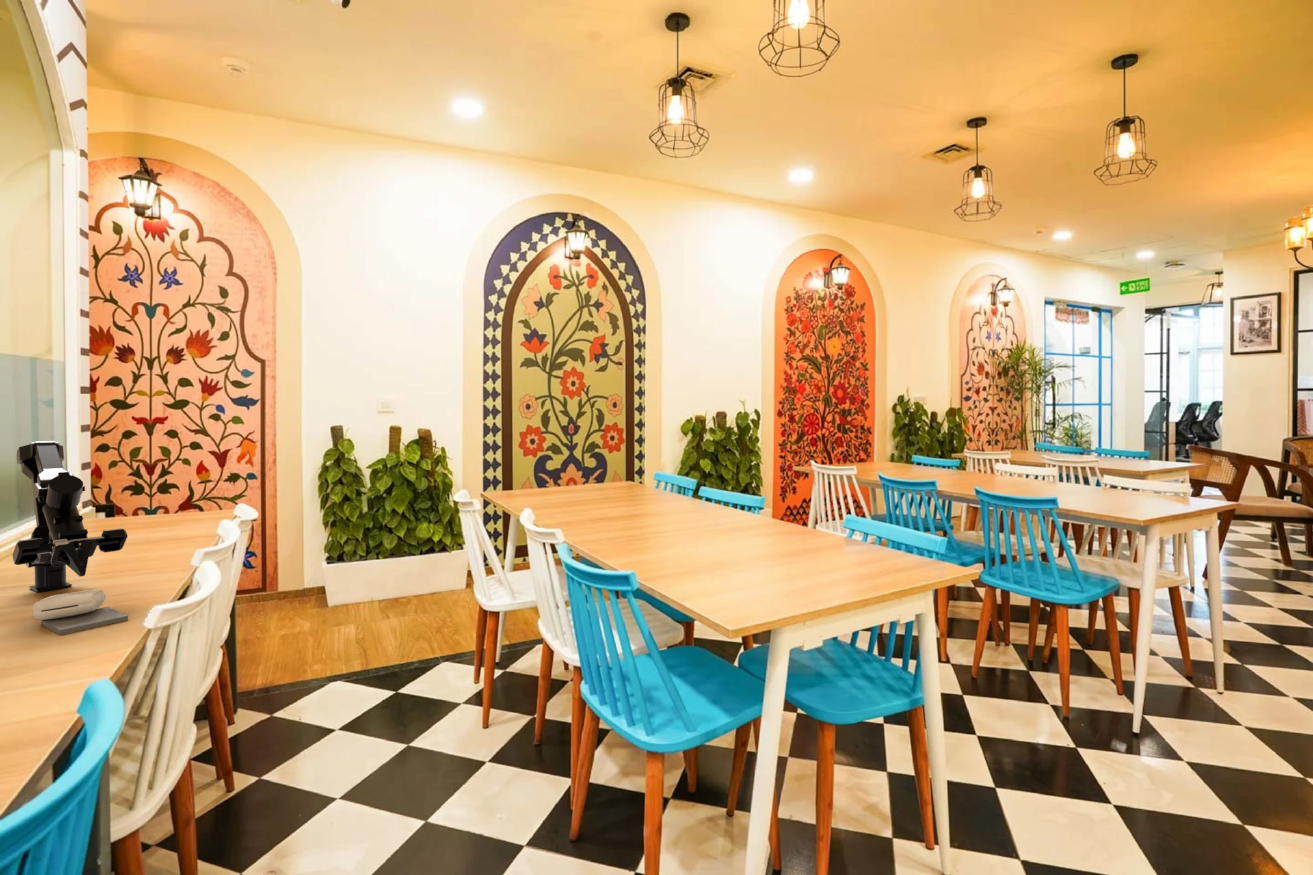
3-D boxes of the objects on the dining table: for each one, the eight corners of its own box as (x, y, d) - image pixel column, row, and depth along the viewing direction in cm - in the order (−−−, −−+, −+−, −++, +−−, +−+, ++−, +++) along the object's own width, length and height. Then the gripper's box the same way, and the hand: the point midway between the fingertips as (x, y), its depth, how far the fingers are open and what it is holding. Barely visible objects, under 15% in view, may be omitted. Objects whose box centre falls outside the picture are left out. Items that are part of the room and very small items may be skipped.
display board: (41, 624, 131) (41, 619, 131) (108, 610, 141) (108, 606, 141) (59, 634, 125) (59, 630, 125) (128, 620, 135) (128, 615, 135)
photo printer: (105, 586, 144) (93, 592, 133) (107, 605, 143) (95, 613, 133) (44, 595, 138) (27, 602, 128) (45, 614, 138) (28, 623, 127)
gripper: (106, 536, 157) (124, 586, 151) (0, 549, 141) (17, 606, 135) (118, 507, 152) (137, 559, 147) (10, 518, 136) (28, 575, 131)
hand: (82, 575), depth 140 cm, fingers closed
